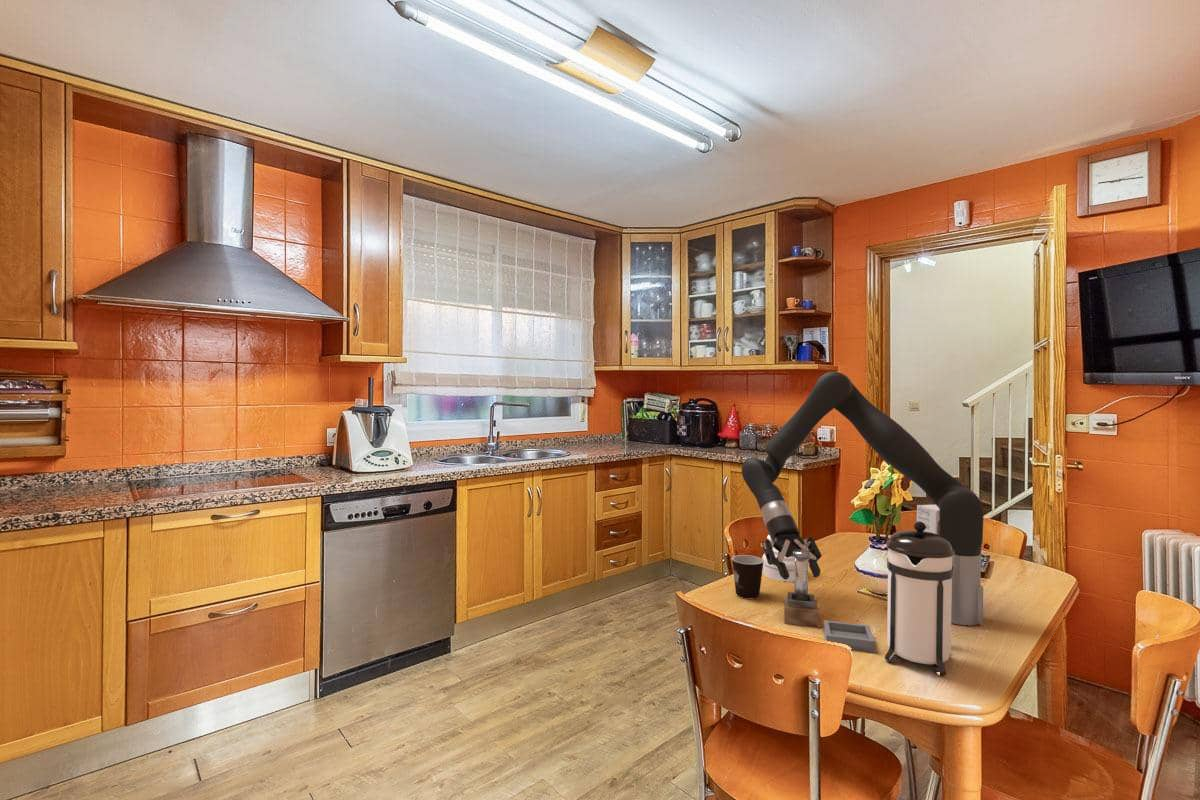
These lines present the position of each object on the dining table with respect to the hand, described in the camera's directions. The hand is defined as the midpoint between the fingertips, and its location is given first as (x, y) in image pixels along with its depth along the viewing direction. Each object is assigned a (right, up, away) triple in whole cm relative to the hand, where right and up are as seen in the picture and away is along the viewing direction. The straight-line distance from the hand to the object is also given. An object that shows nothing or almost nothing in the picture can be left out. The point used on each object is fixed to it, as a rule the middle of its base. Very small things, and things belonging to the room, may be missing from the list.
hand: (802, 577), depth 146 cm
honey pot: (+6, -10, +35) cm, 37 cm away
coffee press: (+18, -12, -20) cm, 29 cm away
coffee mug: (-9, -11, +19) cm, 24 cm away
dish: (+6, -11, -12) cm, 17 cm away
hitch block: (0, -11, +1) cm, 11 cm away
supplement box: (+67, -10, +56) cm, 88 cm away
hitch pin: (0, -7, +1) cm, 7 cm away
